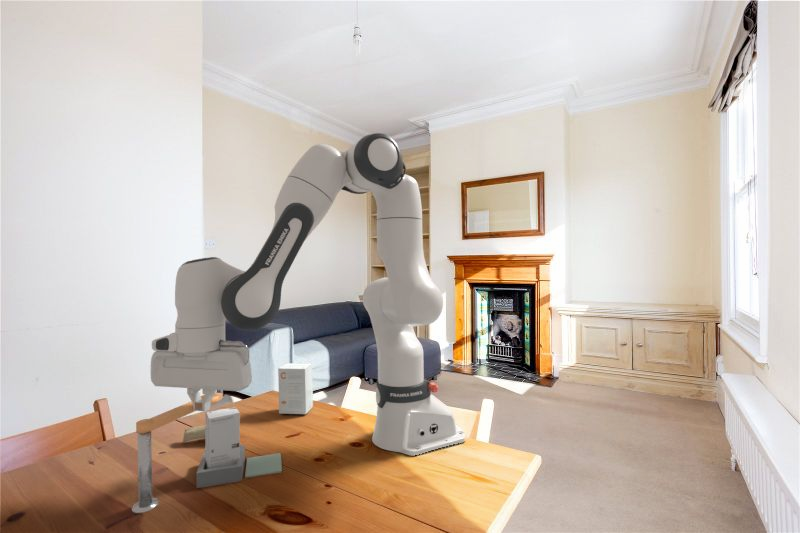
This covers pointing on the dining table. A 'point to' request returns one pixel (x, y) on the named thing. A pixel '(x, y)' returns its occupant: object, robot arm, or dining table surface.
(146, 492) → the post
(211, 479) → the grey slotted base
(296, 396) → the small box
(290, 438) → the dining table surface
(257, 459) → the mat
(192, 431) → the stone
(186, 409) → the wooden board
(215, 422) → the skincare box
